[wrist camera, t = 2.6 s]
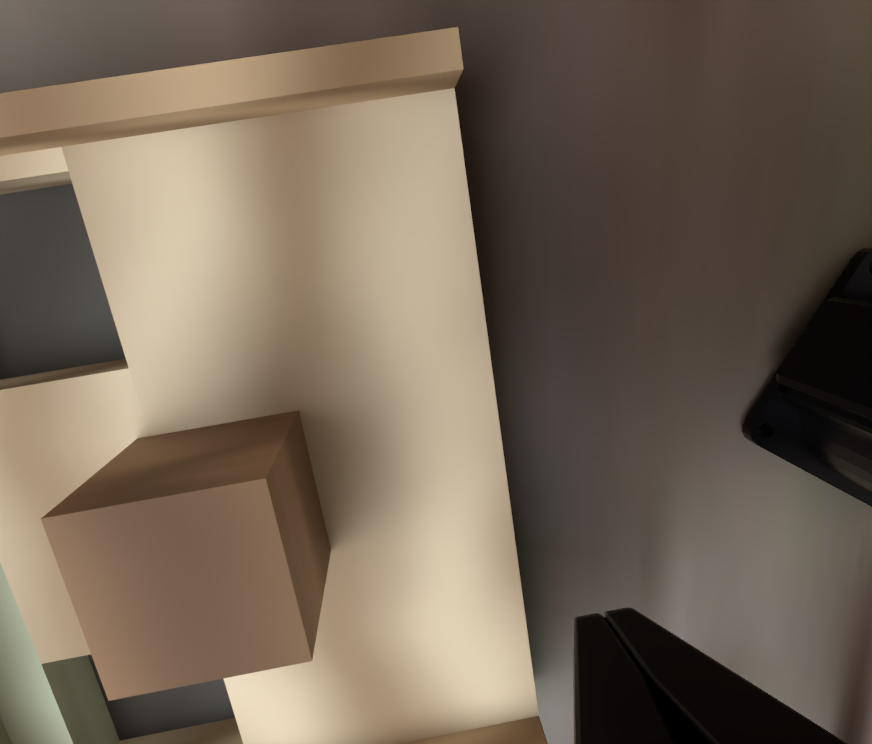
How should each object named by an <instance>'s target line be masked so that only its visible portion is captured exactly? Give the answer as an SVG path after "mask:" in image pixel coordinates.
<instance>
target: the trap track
mask: <svg viewBox="0 0 872 744" xmlns="http://www.w3.org/2000/svg"><path fill="white" fill-rule="evenodd" d="M462 71H463V61H462V53H461V45H460V38H459V30H458V27H454V28H447V29H440V30H433V31H426V32H420V33H413V34H406V35H399V36H392V37H385V38H378V39H371V40H364V41H357V42H350V43H344V44H337V45H330V46H323V47H316V48H309V49H302V50H295V51H288V52H281V53H274V54H268V55H261V56H254V57H247V58H240V59H233V60H226V61H219V62H212V63H205V64H198V65H192V66H185V67H178V68H171V69H164V70H157V71H150V72H143V73H136V74H129V75H122V76H116V77H109V78H102V79H95V80H88V81H81V82H74V83H67V84H60V85H53V86H46V87H40V88H33V89H26V90H19V91H12V92H5V93H0V744H548V743H547V740H546V737H545V734H544V731H543V728H542V724H541V721H540V718H539V714H538V706H537V699H536V691H535V684H534V677H533V669H532V662H531V654H530V647H529V639H528V632H527V624H526V617H525V609H524V602H523V595H522V587H521V580H520V572H519V565H518V557H517V550H516V542H515V535H514V527H513V520H512V513H511V505H510V498H509V490H508V483H507V475H506V468H505V460H504V453H503V445H502V438H501V431H500V423H499V416H498V408H497V401H496V393H495V386H494V378H493V371H492V363H491V356H490V349H489V341H488V334H487V326H486V319H485V311H484V304H483V296H482V289H481V281H480V274H479V267H478V259H477V252H476V244H475V237H474V229H473V222H472V214H471V207H470V199H469V192H468V185H467V177H466V170H465V162H464V155H463V147H462V140H461V132H460V125H459V117H458V110H457V103H456V95H455V86H456V84H457V82H458V80H459V78H460V76H461V73H462ZM298 410H299V413H300V417H301V422H302V426H303V430H304V435H305V439H306V443H307V448H308V452H309V457H310V461H311V465H312V470H313V474H314V478H315V483H316V487H317V491H318V496H319V500H320V504H321V509H322V513H323V517H324V522H325V526H326V531H327V535H328V539H329V544H330V548H331V554H330V560H329V566H328V572H327V577H326V583H325V589H324V595H323V601H322V607H321V612H320V618H319V624H318V630H317V636H316V642H315V648H314V653H313V659H312V661H310V662H305V663H300V664H295V665H290V666H285V667H280V668H275V669H269V670H264V671H259V672H254V673H249V674H244V675H239V676H234V677H228V678H223V679H218V680H213V681H208V682H203V683H198V684H193V685H187V686H182V687H177V688H172V689H167V690H162V691H157V692H152V693H146V694H141V695H136V696H131V697H126V698H121V699H116V700H111V701H108V698H107V695H106V693H105V690H104V687H103V685H102V682H101V679H100V677H99V674H98V671H97V669H96V666H95V663H94V661H93V658H92V655H91V653H90V650H89V647H88V645H87V642H86V639H85V636H84V634H83V631H82V628H81V626H80V623H79V620H78V618H77V615H76V612H75V610H74V607H73V604H72V602H71V599H70V596H69V594H68V591H67V588H66V586H65V583H64V580H63V577H62V575H61V572H60V569H59V567H58V564H57V561H56V559H55V556H54V553H53V551H52V548H51V545H50V543H49V540H48V537H47V535H46V532H45V529H44V527H43V524H42V521H41V518H42V517H43V516H45V515H46V514H47V513H48V512H49V511H51V510H52V509H53V508H54V507H55V506H57V505H58V504H59V503H60V502H61V501H63V500H64V499H65V498H66V497H67V496H69V495H70V494H71V493H72V492H73V491H75V490H76V489H77V488H78V487H79V486H81V485H82V484H83V483H84V482H85V481H87V480H88V479H89V478H90V477H91V476H93V475H94V474H95V473H96V472H97V471H99V470H100V469H101V468H102V467H103V466H105V465H106V464H107V463H108V462H109V461H111V460H112V459H113V458H114V457H116V456H117V455H118V454H119V453H120V452H122V451H123V450H124V449H125V448H126V447H128V446H129V445H130V444H131V443H132V442H134V441H135V440H136V439H137V438H143V437H149V436H154V435H160V434H166V433H171V432H177V431H183V430H189V429H194V428H200V427H206V426H212V425H217V424H223V423H229V422H235V421H240V420H246V419H252V418H258V417H263V416H269V415H275V414H280V413H286V412H292V411H298Z"/></svg>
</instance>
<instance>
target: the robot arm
mask: <svg viewBox="0 0 872 744" xmlns="http://www.w3.org/2000/svg"><path fill="white" fill-rule="evenodd" d="M871 261H872V248H865V249H863V250H861V251H859V252H857V254H856V255H855V256H854V257H853V258H852V260H851V261H850V263H849V264H848V266H847V267H846V269H845V270H844V272H843V273H842V275H841V276H840V278H839V279H838V281H837V282H836V284H835V285H834V287H833V288H832V290H831V291H830V293H829V294H828V296H827V297H826V299H825V300H824V302H823V303H822V305H821V306H820V308H819V309H818V311H817V312H816V314H815V315H814V317H813V318H812V320H811V321H810V323H809V324H808V326H807V327H806V329H805V330H804V332H803V333H802V335H801V336H800V338H799V339H798V341H797V342H796V344H795V345H794V347H793V348H792V350H791V351H790V353H789V354H788V356H787V357H786V359H785V360H784V362H783V363H782V365H781V366H780V368H779V369H778V371H777V372H776V374H775V375H774V377H773V378H772V380H771V381H770V383H769V384H768V386H767V388H766V389H765V391H764V392H763V394H762V395H761V397H760V398H759V400H758V401H757V403H756V404H755V406H754V407H753V409H752V410H751V412H750V413H749V415H748V416H747V418H746V419H745V421H744V423H743V430H742V431H743V434H744V436H745V437H746V438H747V439H748V440H749V441H751V442H753V443H755V444H756V445H758V446H760V447H762V448H764V449H766V450H767V451H769V452H771V453H773V454H775V455H777V456H779V457H780V458H782V459H784V460H786V461H788V462H790V463H792V464H793V465H795V466H797V467H799V468H801V469H803V470H805V471H806V472H808V473H810V474H812V475H814V476H816V477H818V478H820V479H821V480H823V481H825V482H827V483H829V484H831V485H833V486H834V487H836V488H838V489H840V490H842V491H844V492H846V493H847V494H849V495H851V496H853V497H855V498H857V499H859V500H860V501H862V502H864V503H866V504H868V505H870V506H872V271H871V272H870V271H869V265H870V263H871ZM765 423H766V427H765V430H764V431H763V432H762V433H760V434H758V430H759V428H760V426H762V425H763V424H765ZM572 636H573V707H574V744H847V743H845V742H844V741H842V740H841V739H839V738H838V737H836V736H834V735H833V734H831V733H830V732H828V731H826V730H825V729H823V728H822V727H820V726H818V725H817V724H815V723H814V722H812V721H811V720H809V719H807V718H806V717H804V716H803V715H801V714H799V713H798V712H796V711H795V710H793V709H792V708H790V707H788V706H787V705H785V704H784V703H782V702H780V701H779V700H777V699H776V698H774V697H772V696H771V695H769V694H768V693H766V692H765V691H763V690H761V689H760V688H758V687H757V686H755V685H753V684H752V683H750V682H749V681H747V680H746V679H744V678H742V677H741V676H739V675H738V674H736V673H734V672H733V671H731V670H730V669H728V668H726V667H725V666H723V665H722V664H720V663H719V662H717V661H715V660H714V659H712V658H711V657H709V656H707V655H706V654H704V653H703V652H701V651H700V650H698V649H696V648H695V647H693V646H692V645H690V644H688V643H687V642H685V641H684V640H682V639H680V638H679V637H677V636H676V635H674V634H673V633H671V632H669V631H668V630H666V629H665V628H663V627H661V626H660V625H658V624H657V623H655V622H654V621H652V620H650V619H649V618H647V617H646V616H644V615H642V614H641V613H639V612H638V611H636V610H634V609H632V608H622V609H616V610H611V611H606V612H605V613H604V614H603V615H600V614H598V613H595V614H590V615H585V616H580V617H576V618H574V619H573V622H572Z"/></svg>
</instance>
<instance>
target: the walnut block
mask: <svg viewBox="0 0 872 744" xmlns="http://www.w3.org/2000/svg"><path fill="white" fill-rule="evenodd" d="M41 521H42V524H43V527H44V529H45V532H46V535H47V537H48V540H49V543H50V545H51V548H52V551H53V553H54V556H55V559H56V561H57V564H58V567H59V569H60V572H61V575H62V577H63V580H64V583H65V586H66V588H67V591H68V594H69V596H70V599H71V602H72V604H73V607H74V610H75V612H76V615H77V618H78V620H79V623H80V626H81V628H82V631H83V634H84V636H85V639H86V642H87V645H88V647H89V650H90V653H91V655H92V658H93V661H94V663H95V666H96V669H97V671H98V674H99V677H100V679H101V682H102V685H103V687H104V690H105V693H106V695H107V698H108V701H111V700H116V699H121V698H126V697H131V696H136V695H141V694H146V693H152V692H157V691H162V690H167V689H172V688H177V687H182V686H187V685H193V684H198V683H203V682H208V681H213V680H218V679H223V678H228V677H234V676H239V675H244V674H249V673H254V672H259V671H264V670H269V669H275V668H280V667H285V666H290V665H295V664H300V663H305V662H310V661H312V659H313V653H314V648H315V642H316V636H317V630H318V624H319V618H320V612H321V607H322V601H323V595H324V589H325V583H326V577H327V572H328V566H329V560H330V554H331V548H330V544H329V539H328V535H327V531H326V526H325V522H324V517H323V513H322V509H321V504H320V500H319V496H318V491H317V487H316V483H315V478H314V474H313V470H312V465H311V461H310V457H309V452H308V448H307V443H306V439H305V435H304V430H303V426H302V422H301V417H300V413H299V410H298V411H292V412H286V413H280V414H275V415H269V416H263V417H258V418H252V419H246V420H240V421H235V422H229V423H223V424H217V425H212V426H206V427H200V428H194V429H189V430H183V431H177V432H171V433H166V434H160V435H154V436H149V437H143V438H137V439H136V440H135V441H134V442H132V443H131V444H130V445H129V446H128V447H126V448H125V449H124V450H123V451H122V452H120V453H119V454H118V455H117V456H116V457H114V458H113V459H112V460H111V461H109V462H108V463H107V464H106V465H105V466H103V467H102V468H101V469H100V470H99V471H97V472H96V473H95V474H94V475H93V476H91V477H90V478H89V479H88V480H87V481H85V482H84V483H83V484H82V485H81V486H79V487H78V488H77V489H76V490H75V491H73V492H72V493H71V494H70V495H69V496H67V497H66V498H65V499H64V500H63V501H61V502H60V503H59V504H58V505H57V506H55V507H54V508H53V509H52V510H51V511H49V512H48V513H47V514H46V515H45V516H43V517H42V518H41Z"/></svg>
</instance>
